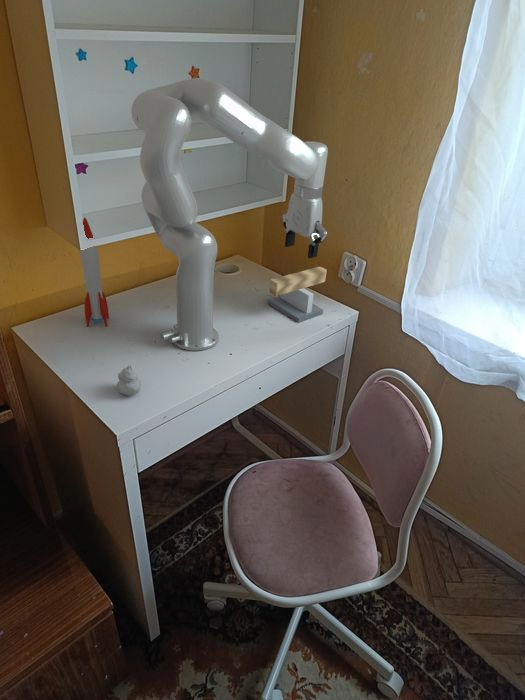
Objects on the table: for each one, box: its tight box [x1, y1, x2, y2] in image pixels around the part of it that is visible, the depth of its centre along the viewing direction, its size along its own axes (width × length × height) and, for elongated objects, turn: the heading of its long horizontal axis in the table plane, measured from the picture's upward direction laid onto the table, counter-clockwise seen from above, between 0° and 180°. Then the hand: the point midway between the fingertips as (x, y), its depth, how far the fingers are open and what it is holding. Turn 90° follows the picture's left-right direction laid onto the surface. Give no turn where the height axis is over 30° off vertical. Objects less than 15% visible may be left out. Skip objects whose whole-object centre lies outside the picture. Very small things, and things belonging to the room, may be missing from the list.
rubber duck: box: [116, 364, 142, 396], centre depth 113 cm, size 5×7×8 cm
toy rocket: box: [79, 217, 110, 328], centre depth 132 cm, size 6×6×30 cm
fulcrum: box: [267, 288, 324, 324], centre depth 152 cm, size 10×14×8 cm
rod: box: [269, 266, 328, 297], centre depth 149 cm, size 20×3×4 cm, turn 129°
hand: (300, 251), depth 144 cm, fingers open, 9 cm apart
